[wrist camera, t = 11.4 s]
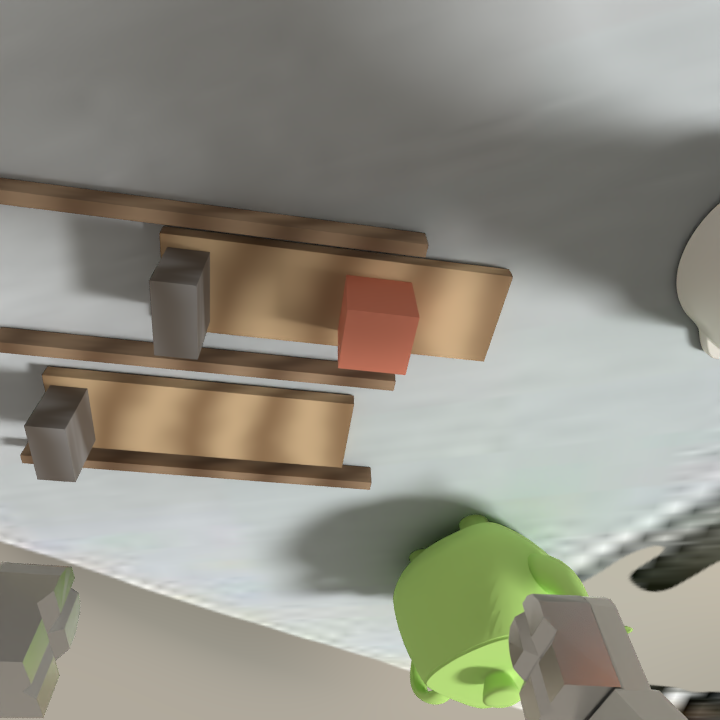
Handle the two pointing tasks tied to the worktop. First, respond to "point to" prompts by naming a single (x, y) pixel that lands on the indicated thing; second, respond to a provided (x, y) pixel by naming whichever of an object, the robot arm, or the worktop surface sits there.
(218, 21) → the worktop surface
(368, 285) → the cube
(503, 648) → the teapot
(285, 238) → the lane rails
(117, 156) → the worktop surface
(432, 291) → the strip
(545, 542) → the worktop surface
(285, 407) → the strip
